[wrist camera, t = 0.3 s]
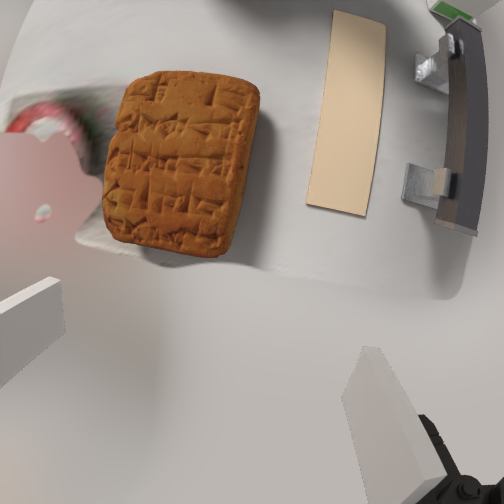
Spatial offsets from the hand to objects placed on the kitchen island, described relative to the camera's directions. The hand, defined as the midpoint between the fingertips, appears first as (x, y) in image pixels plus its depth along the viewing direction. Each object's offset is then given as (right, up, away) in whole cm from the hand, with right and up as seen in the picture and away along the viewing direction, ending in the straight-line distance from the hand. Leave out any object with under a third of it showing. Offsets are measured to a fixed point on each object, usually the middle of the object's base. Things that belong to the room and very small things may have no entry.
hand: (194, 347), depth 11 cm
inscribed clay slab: (-6, +16, +25) cm, 30 cm away
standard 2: (+29, +30, +19) cm, 46 cm away
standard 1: (+26, +13, +24) cm, 37 cm away
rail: (+27, +20, +14) cm, 36 cm away
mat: (+15, +24, +22) cm, 36 cm away
